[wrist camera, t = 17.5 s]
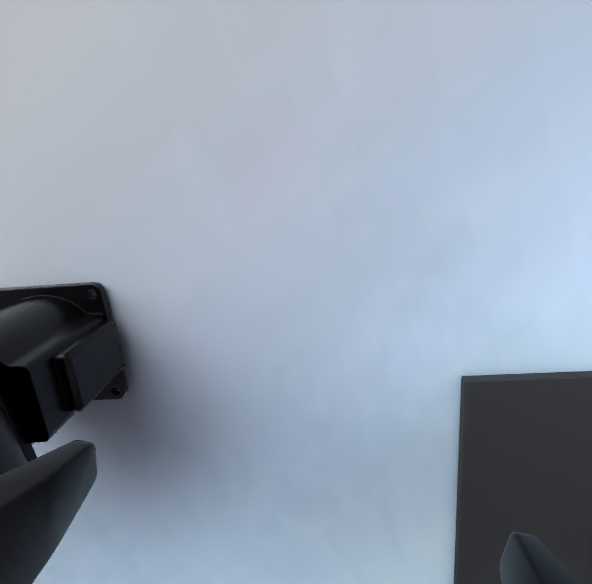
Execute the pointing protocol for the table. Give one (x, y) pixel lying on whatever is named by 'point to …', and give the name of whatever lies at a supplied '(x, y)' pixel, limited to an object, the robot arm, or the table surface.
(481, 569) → the charcoal mat
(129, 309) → the table surface
